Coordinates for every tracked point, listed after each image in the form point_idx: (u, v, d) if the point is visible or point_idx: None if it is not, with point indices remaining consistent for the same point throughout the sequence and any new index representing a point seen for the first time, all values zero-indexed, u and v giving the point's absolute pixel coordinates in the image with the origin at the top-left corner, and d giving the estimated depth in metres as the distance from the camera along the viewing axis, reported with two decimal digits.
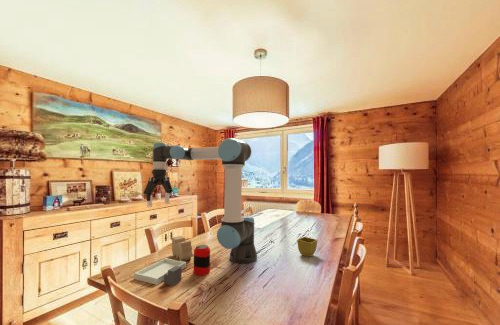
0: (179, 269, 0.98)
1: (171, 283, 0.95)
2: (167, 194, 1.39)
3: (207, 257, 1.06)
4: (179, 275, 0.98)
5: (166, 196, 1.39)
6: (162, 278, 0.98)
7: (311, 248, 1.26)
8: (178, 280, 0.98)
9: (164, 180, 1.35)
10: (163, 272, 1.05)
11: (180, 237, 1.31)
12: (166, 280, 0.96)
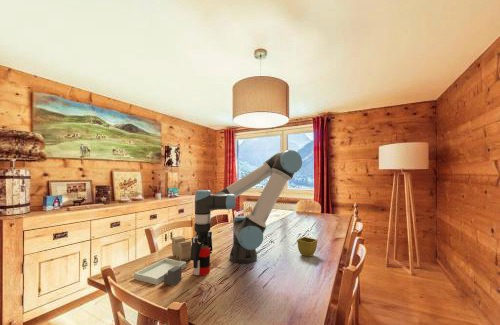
0: (179, 269, 0.98)
1: (171, 283, 0.95)
2: None
3: (207, 257, 1.06)
4: (179, 275, 0.98)
5: None
6: (162, 278, 0.98)
7: (311, 248, 1.26)
8: (178, 280, 0.98)
9: (207, 236, 1.09)
10: (163, 272, 1.05)
11: (180, 237, 1.31)
12: (166, 280, 0.96)
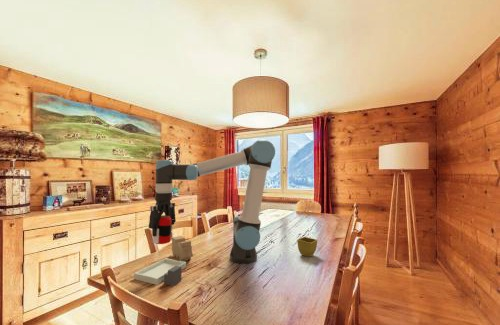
0: (179, 269, 0.98)
1: (171, 283, 0.95)
2: None
3: (167, 226, 1.06)
4: (179, 275, 0.98)
5: None
6: (162, 278, 0.98)
7: (311, 248, 1.26)
8: (178, 280, 0.98)
9: (169, 206, 1.09)
10: (163, 272, 1.05)
11: (180, 237, 1.31)
12: (166, 280, 0.96)
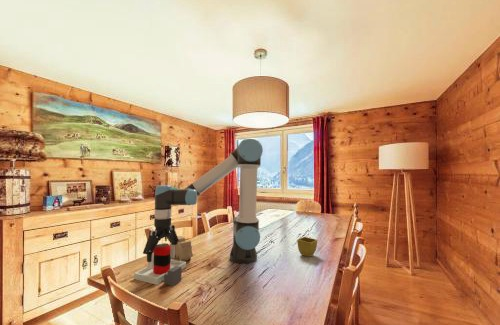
0: (179, 269, 0.98)
1: (171, 283, 0.95)
2: (172, 246, 1.13)
3: (166, 255, 1.05)
4: (179, 275, 0.98)
5: (171, 249, 1.13)
6: (162, 278, 0.98)
7: (311, 248, 1.26)
8: (178, 280, 0.98)
9: (168, 231, 1.09)
10: None
11: (180, 237, 1.31)
12: (166, 280, 0.96)
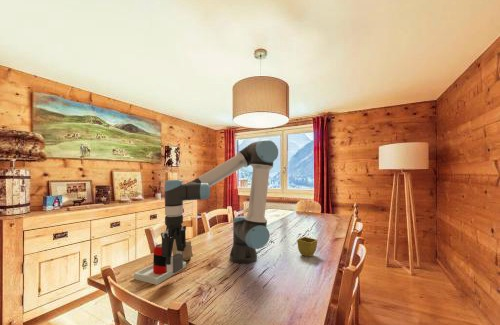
0: (181, 256, 0.99)
1: (173, 270, 0.96)
2: (179, 253, 1.01)
3: None
4: (181, 262, 0.99)
5: None
6: (162, 278, 0.98)
7: (311, 248, 1.26)
8: (180, 267, 0.98)
9: (180, 230, 1.00)
10: None
11: None
12: None
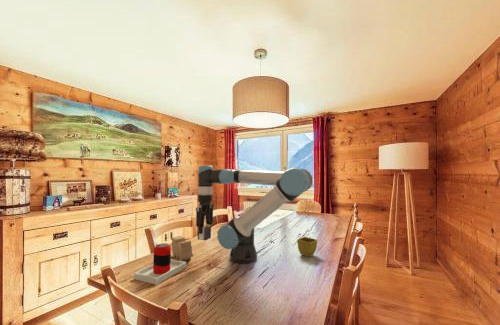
0: (209, 228, 1.21)
1: (204, 238, 1.18)
2: None
3: (167, 255, 1.05)
4: (209, 233, 1.21)
5: None
6: (162, 278, 0.98)
7: (311, 248, 1.26)
8: (209, 237, 1.20)
9: (210, 207, 1.22)
10: None
11: (180, 237, 1.31)
12: None
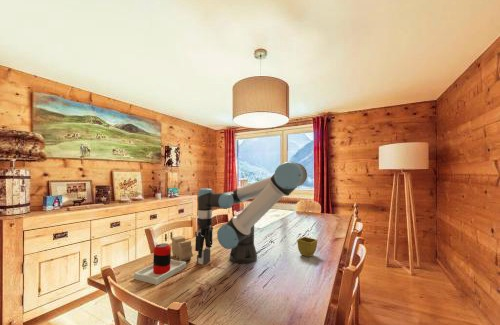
0: (209, 251, 1.21)
1: (203, 262, 1.17)
2: None
3: (167, 255, 1.05)
4: (209, 256, 1.21)
5: None
6: (162, 278, 0.98)
7: (311, 248, 1.26)
8: (208, 260, 1.20)
9: (209, 230, 1.22)
10: None
11: (180, 237, 1.31)
12: None
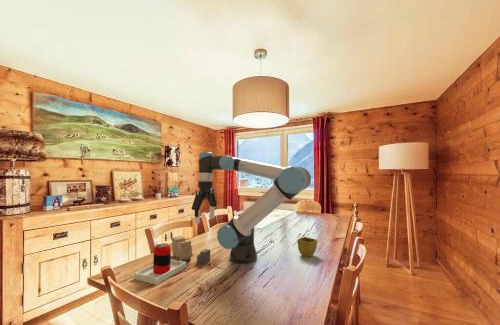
0: (209, 251, 1.21)
1: (203, 262, 1.17)
2: (212, 208, 1.27)
3: (167, 255, 1.05)
4: (209, 256, 1.21)
5: (211, 210, 1.27)
6: (162, 278, 0.98)
7: (311, 248, 1.26)
8: (208, 260, 1.20)
9: (210, 193, 1.23)
10: None
11: (180, 237, 1.31)
12: (199, 260, 1.18)
